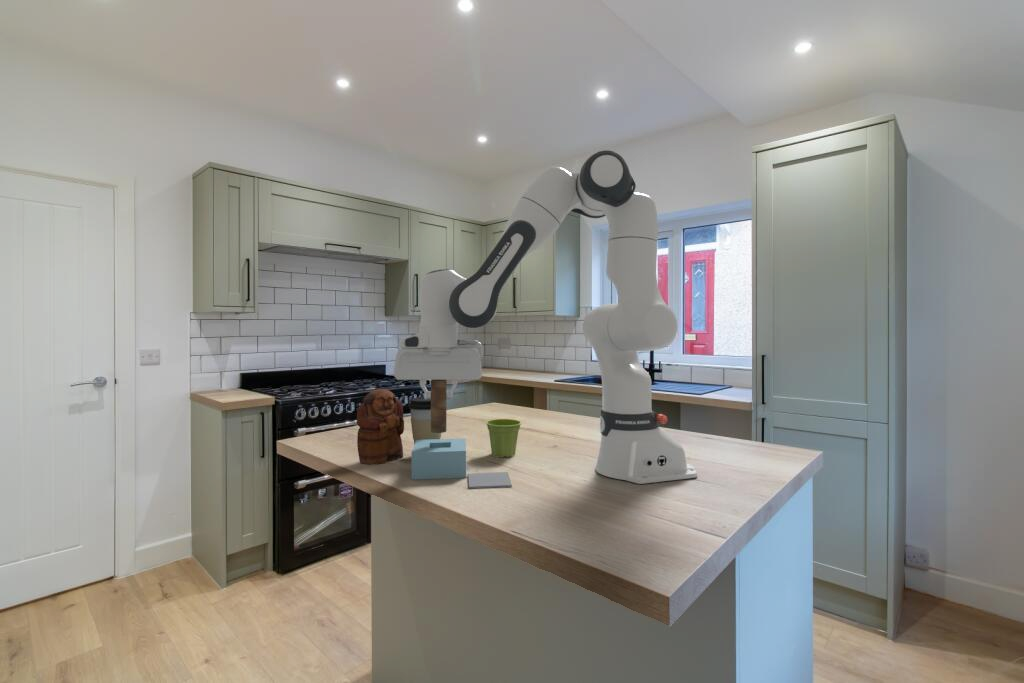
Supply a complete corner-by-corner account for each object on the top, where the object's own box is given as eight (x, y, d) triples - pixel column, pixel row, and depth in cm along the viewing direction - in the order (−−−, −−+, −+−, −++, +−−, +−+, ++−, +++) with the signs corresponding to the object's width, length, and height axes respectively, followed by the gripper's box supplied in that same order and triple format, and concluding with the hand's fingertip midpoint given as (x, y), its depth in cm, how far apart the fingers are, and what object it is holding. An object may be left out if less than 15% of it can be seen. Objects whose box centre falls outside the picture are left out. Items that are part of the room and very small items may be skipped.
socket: (465, 462, 120) (465, 438, 120) (466, 477, 108) (465, 450, 108) (416, 464, 119) (416, 439, 119) (411, 479, 107) (411, 452, 107)
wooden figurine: (370, 467, 116) (369, 393, 116) (355, 463, 120) (353, 390, 120) (409, 456, 126) (408, 387, 125) (393, 452, 130) (392, 386, 129)
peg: (446, 429, 115) (446, 379, 115) (446, 432, 111) (446, 380, 111) (431, 429, 115) (431, 379, 114) (430, 433, 111) (430, 381, 111)
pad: (507, 473, 111) (507, 472, 111) (511, 486, 102) (511, 484, 102) (468, 475, 110) (468, 473, 110) (468, 488, 101) (468, 486, 101)
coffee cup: (442, 461, 121) (441, 401, 121) (404, 461, 121) (403, 401, 121) (447, 451, 131) (447, 396, 130) (412, 451, 131) (412, 396, 130)
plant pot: (500, 448, 134) (500, 417, 133) (528, 453, 128) (528, 421, 128) (478, 455, 126) (478, 422, 126) (507, 461, 121) (507, 427, 120)
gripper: (482, 339, 117) (482, 396, 117) (396, 339, 115) (396, 397, 115) (484, 340, 111) (483, 400, 111) (392, 340, 108) (392, 401, 109)
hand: (438, 399), depth 113 cm, fingers closed on peg, 4 cm apart
